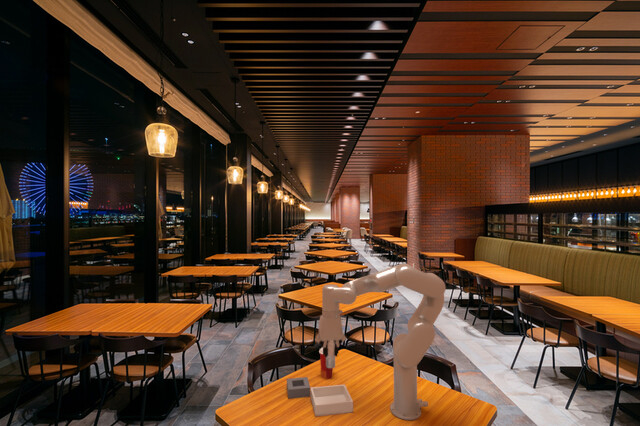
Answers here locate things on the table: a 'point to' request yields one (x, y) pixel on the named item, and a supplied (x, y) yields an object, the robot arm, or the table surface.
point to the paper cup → (324, 366)
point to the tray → (331, 400)
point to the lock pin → (330, 354)
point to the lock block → (298, 387)
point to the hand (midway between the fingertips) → (330, 355)
